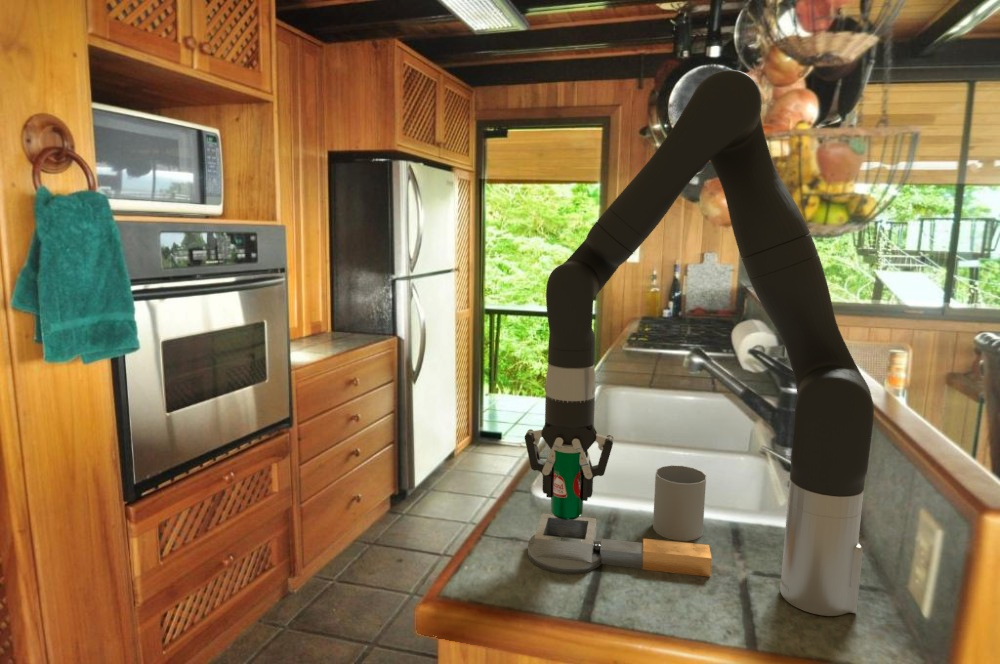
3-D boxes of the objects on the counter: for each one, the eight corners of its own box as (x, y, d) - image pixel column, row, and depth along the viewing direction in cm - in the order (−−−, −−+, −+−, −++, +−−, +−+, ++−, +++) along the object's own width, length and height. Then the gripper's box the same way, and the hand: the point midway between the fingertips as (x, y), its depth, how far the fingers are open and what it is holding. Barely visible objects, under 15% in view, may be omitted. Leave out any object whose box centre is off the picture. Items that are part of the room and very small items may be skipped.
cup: (701, 544, 112) (705, 486, 111) (650, 536, 115) (653, 480, 113) (703, 522, 120) (707, 468, 119) (656, 515, 123) (658, 462, 121)
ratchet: (705, 550, 110) (707, 524, 109) (713, 590, 98) (715, 561, 98) (534, 533, 116) (534, 508, 115) (522, 569, 104) (522, 541, 103)
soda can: (545, 510, 109) (546, 438, 107) (572, 505, 111) (575, 434, 109) (560, 523, 104) (562, 448, 102) (588, 518, 106) (591, 444, 104)
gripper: (618, 389, 106) (614, 492, 109) (527, 383, 109) (526, 484, 112) (617, 402, 99) (612, 511, 102) (519, 395, 102) (517, 502, 105)
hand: (567, 496), depth 107 cm, fingers closed on soda can, 5 cm apart
